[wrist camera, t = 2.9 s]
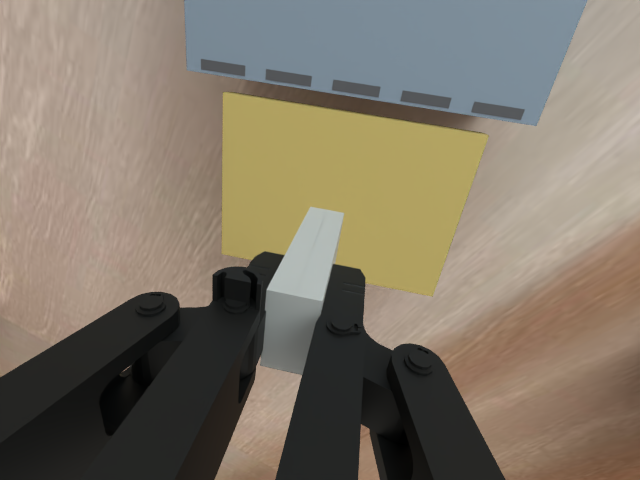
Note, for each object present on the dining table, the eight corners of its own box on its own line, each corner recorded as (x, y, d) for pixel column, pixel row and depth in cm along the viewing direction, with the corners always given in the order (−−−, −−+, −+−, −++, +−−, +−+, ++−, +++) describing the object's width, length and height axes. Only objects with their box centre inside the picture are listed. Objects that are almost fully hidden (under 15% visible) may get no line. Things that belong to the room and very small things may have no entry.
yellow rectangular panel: (230, 91, 19) (222, 92, 18) (483, 132, 18) (488, 135, 17) (227, 247, 24) (221, 254, 23) (430, 287, 23) (432, 296, 22)
